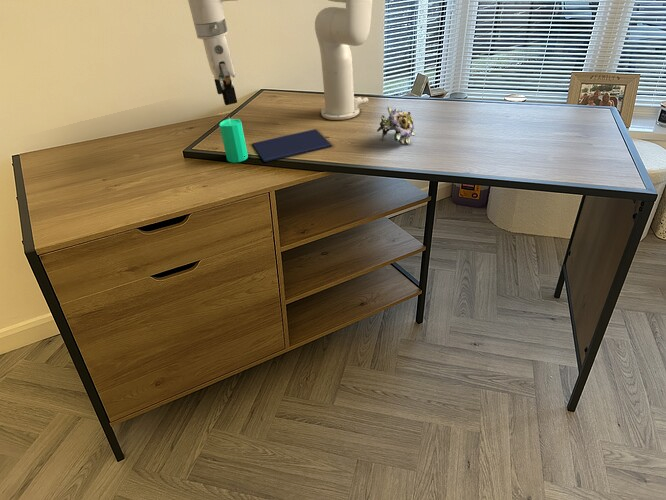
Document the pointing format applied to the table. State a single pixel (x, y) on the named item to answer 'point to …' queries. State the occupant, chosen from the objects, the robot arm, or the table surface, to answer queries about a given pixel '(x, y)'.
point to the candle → (233, 140)
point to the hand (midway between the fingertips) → (227, 98)
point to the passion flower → (398, 125)
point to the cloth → (291, 145)
